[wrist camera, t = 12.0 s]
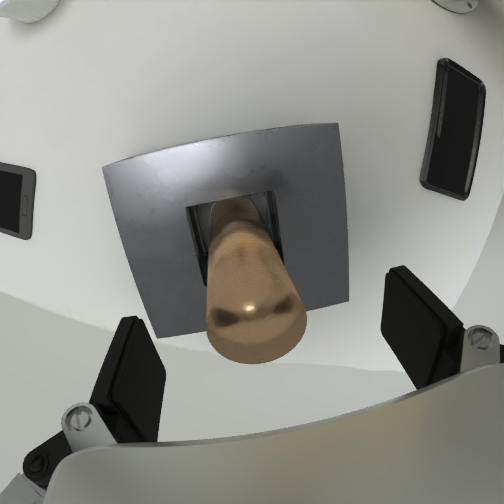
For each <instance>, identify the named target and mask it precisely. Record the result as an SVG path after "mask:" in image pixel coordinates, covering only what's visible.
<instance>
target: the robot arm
mask: <svg viewBox="0 0 504 504" xmlns="http://www.w3.org/2000/svg"><path fill="white" fill-rule="evenodd" d="M434 1H435V2H436V3H438V4H439V5H441V6H443V7H444V8H446V9H448V10H451V11H453V12H457V13H467V12H470V11H473V10H474V9H475V8H476V7H477V5H478V2H479V0H434ZM381 333H382V335H383V337H384V338H385V340H386V341H387V343H388V344H389V346H390V347H391V349H392V351H393V352H394V354H395V355H396V357H397V358H398V360H399V362H400V363H401V365H402V366H403V368H404V369H405V371H406V373H407V374H408V376H409V377H410V379H411V381H412V382H413V384H414V386H415V387H416V389H417V390H416V391H413V392H410V393H408V394H405V395H402V396H399V397H397V398H394V399H391V400H388V401H386V402H382V403H380V404H377V405H373V406H370V407H367V408H364V409H360V410H357V411H353V412H350V413H346V414H343V415H339V416H335V417H332V418H328V419H324V420H320V421H316V422H311V423H307V424H302V425H298V426H293V427H288V428H283V429H277V430H272V431H267V432H260V433H254V434H247V435H240V436H232V437H223V438H214V439H203V440H189V441H175V442H174V441H173V442H157V439H158V431H159V423H160V415H161V408H162V401H163V394H164V387H165V381H166V371H165V368H164V365H163V363H162V361H161V359H160V357H159V355H158V353H157V351H156V348H155V346H154V344H153V342H152V339H151V337H150V335H149V333H148V330H147V328H146V326H145V323H144V321H143V320H142V319H139V318H138V317H137V316H130V317H123V318H122V319H121V320H120V323H119V325H118V328H117V330H116V332H115V335H114V337H113V340H112V342H111V345H110V347H109V350H108V353H107V355H106V357H105V359H104V362H103V365H102V367H101V370H100V373H99V375H98V378H97V381H96V384H95V386H94V389H93V392H92V395H91V398H90V401H89V403H84V402H82V403H77V404H75V405H72V406H71V407H70V408H68V409H67V410H66V412H65V413H64V415H63V417H62V421H61V425H62V429H63V430H62V431H61V432H59V433H58V434H56V435H55V436H53V437H52V438H50V439H49V440H47V441H46V442H44V443H43V444H41V445H40V446H38V447H36V448H35V449H33V450H32V451H31V452H29V453H28V454H27V456H26V457H25V459H24V462H23V472H24V473H23V474H22V475H21V474H20V473H18V474H17V475H16V477H15V478H14V479H13V480H12V481H11V482H10V483H9V485H8V486H7V487H6V488H5V489H4V490H3V491H2V493H1V494H0V504H504V345H501V344H499V337H498V335H497V334H496V333H495V332H494V331H493V330H492V329H490V328H489V327H486V326H483V325H475V326H471V327H469V328H468V329H467V330H465V328H464V327H463V323H462V322H461V321H460V320H459V319H458V318H457V317H456V316H455V314H454V313H453V312H452V311H451V310H450V309H449V308H448V307H447V306H446V305H445V304H444V303H443V302H442V301H441V300H440V299H439V298H438V297H437V296H436V295H435V294H434V293H433V292H432V291H431V290H430V289H429V288H428V287H427V286H426V285H425V284H424V283H422V282H421V281H420V280H419V279H418V278H417V277H416V276H415V275H414V274H413V273H412V272H411V271H410V270H409V269H408V268H407V267H405V266H404V265H402V266H398V267H394V268H391V269H390V270H389V273H386V276H385V289H384V300H383V311H382V320H381Z"/></svg>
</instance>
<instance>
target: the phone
mask: <svg viewBox="0 0 504 504" xmlns="http://www.w3.org/2000/svg"><path fill="white" fill-rule="evenodd" d="M485 97H486V88H485V85H484V83H483V82H482V81H481V80H480V79H479V78H477V77H476V76H475V75H473V74H472V73H470V72H469V71H467V70H466V69H464V68H463V67H461V66H460V65H458V64H457V63H455V62H454V61H452V60H450V59H448V58H443V59H440V60H439V61H438V63H437V72H436V82H435V91H434V99H433V107H432V114H431V120H430V127H429V133H428V138H427V144H426V149H425V154H424V159H423V164H422V168H421V173H420V183H421V185H422V186H423V187H424V188H427V189H429V190H432V191H435V192H438V193H441V194H444V195H447V196H450V197H453V198H456V199H459V200H461V201H464V200H466V199H467V198H468V196H469V194H470V190H471V186H472V181H473V177H474V172H475V167H476V162H477V157H478V151H479V146H480V139H481V133H482V125H483V117H484V108H485Z"/></svg>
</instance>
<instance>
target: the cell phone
mask: <svg viewBox="0 0 504 504" xmlns="http://www.w3.org/2000/svg"><path fill="white" fill-rule="evenodd" d="M35 187H36V173H35V171H34V170H32V169H29V168H26V167H21V166H16V165H11V164H7V163H2V162H0V232H2V233H5V234H8V235H11V236H14V237H17V238H20V239H24V240H28V239H30V238H31V236H32V226H33V209H34V197H35Z"/></svg>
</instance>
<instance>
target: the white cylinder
mask: <svg viewBox="0 0 504 504" xmlns="http://www.w3.org/2000/svg"><path fill="white" fill-rule="evenodd" d="M59 2H60V0H0V16H1V17H6V18H10V19H14V20H18V21H22V22H26V23H33V22H37V21H39V20H41V19H43V18H44V17H46V16H47V15H48V14H49V13H50V12H51V11H53V10H54V9H55V7H56V6H57V4H58V3H59Z"/></svg>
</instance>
